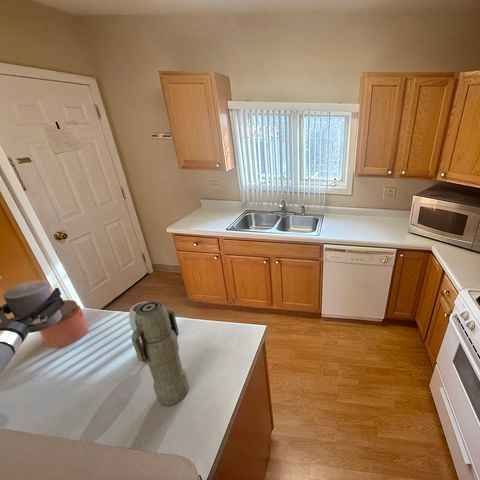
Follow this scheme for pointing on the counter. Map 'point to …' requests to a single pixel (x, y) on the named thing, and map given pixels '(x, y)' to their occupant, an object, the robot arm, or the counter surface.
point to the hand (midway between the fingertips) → (38, 294)
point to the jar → (66, 327)
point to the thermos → (160, 351)
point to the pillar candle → (30, 301)
